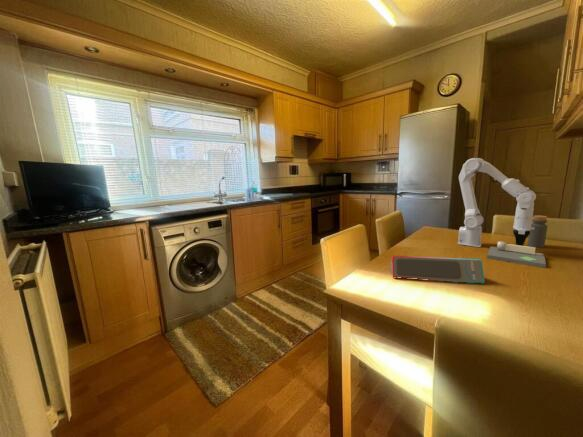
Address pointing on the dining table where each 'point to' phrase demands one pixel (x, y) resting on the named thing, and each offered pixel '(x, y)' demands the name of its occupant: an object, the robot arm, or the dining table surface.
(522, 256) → the board
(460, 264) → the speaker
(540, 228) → the bottle
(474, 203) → the robot arm
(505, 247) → the peg lever
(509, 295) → the dining table surface
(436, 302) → the dining table surface
